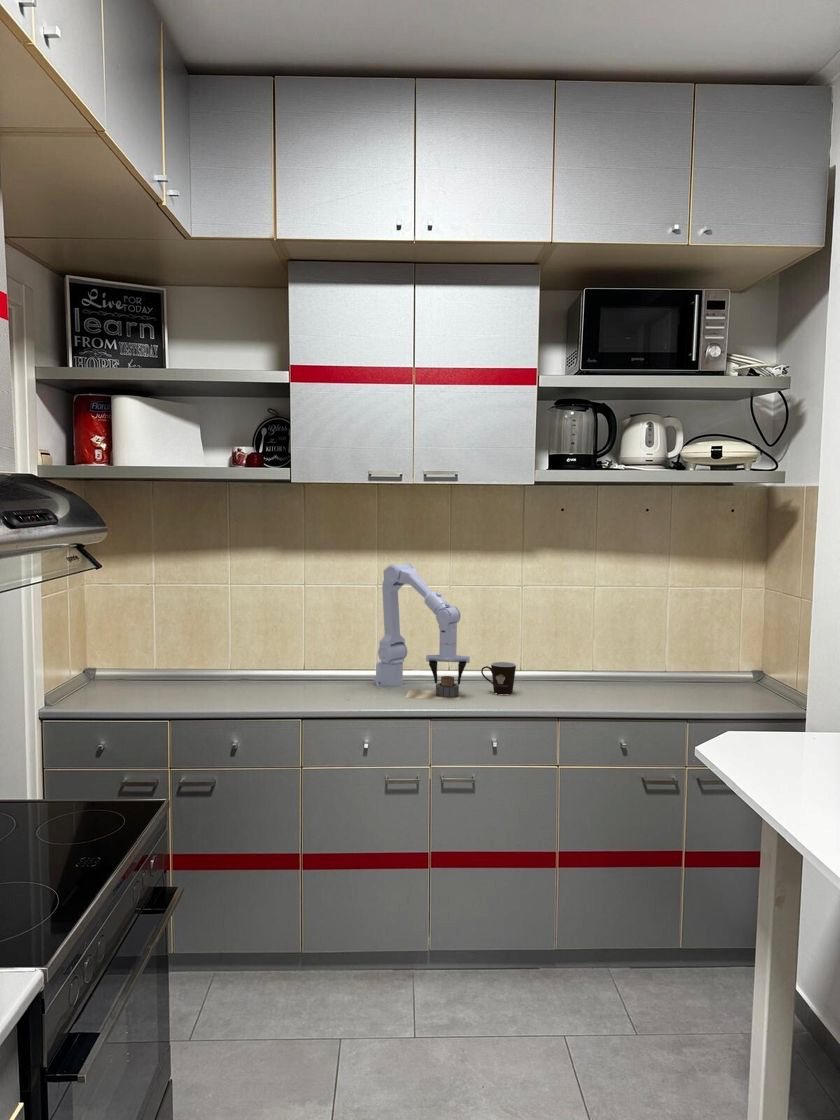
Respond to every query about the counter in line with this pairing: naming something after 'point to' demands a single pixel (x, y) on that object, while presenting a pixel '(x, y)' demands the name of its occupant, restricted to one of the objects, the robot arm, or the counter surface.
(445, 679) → the plug
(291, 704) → the counter surface
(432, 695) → the board
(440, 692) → the sleeve
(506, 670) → the coffee mug
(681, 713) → the counter surface
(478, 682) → the counter surface
